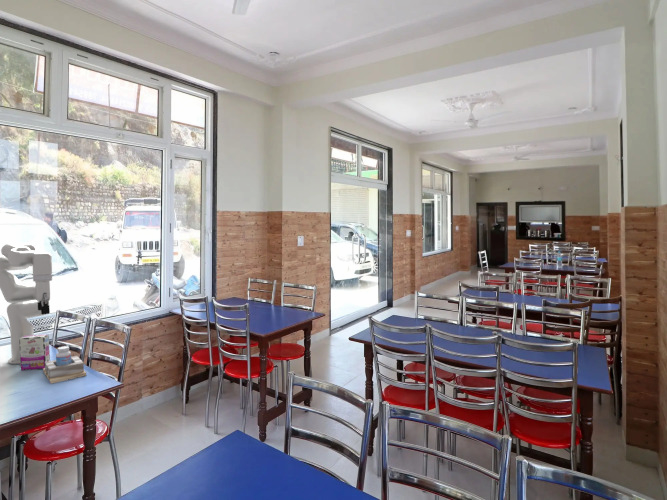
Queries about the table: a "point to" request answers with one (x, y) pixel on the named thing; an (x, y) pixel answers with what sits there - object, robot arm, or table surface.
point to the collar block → (64, 370)
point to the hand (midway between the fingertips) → (43, 312)
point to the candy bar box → (34, 351)
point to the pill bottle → (63, 356)
